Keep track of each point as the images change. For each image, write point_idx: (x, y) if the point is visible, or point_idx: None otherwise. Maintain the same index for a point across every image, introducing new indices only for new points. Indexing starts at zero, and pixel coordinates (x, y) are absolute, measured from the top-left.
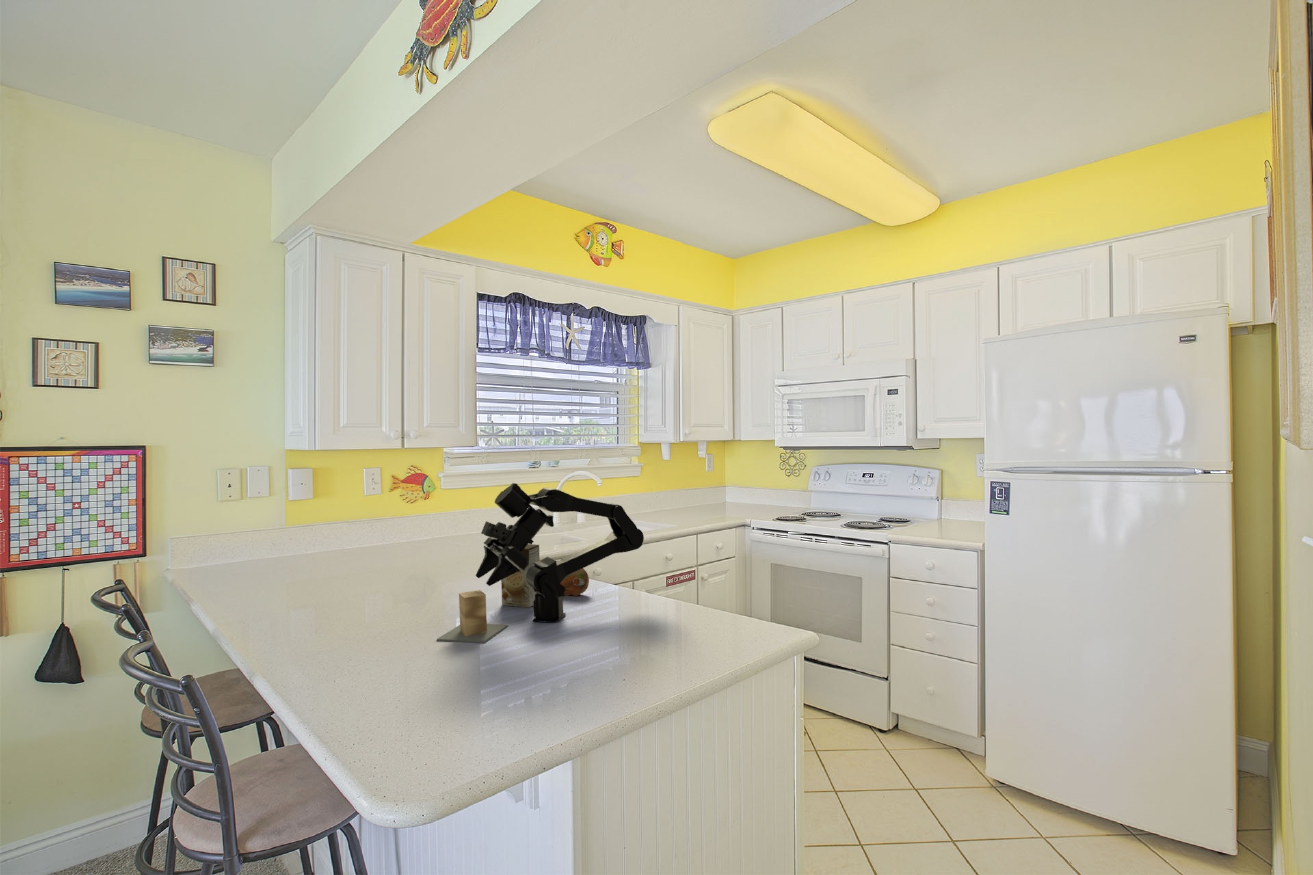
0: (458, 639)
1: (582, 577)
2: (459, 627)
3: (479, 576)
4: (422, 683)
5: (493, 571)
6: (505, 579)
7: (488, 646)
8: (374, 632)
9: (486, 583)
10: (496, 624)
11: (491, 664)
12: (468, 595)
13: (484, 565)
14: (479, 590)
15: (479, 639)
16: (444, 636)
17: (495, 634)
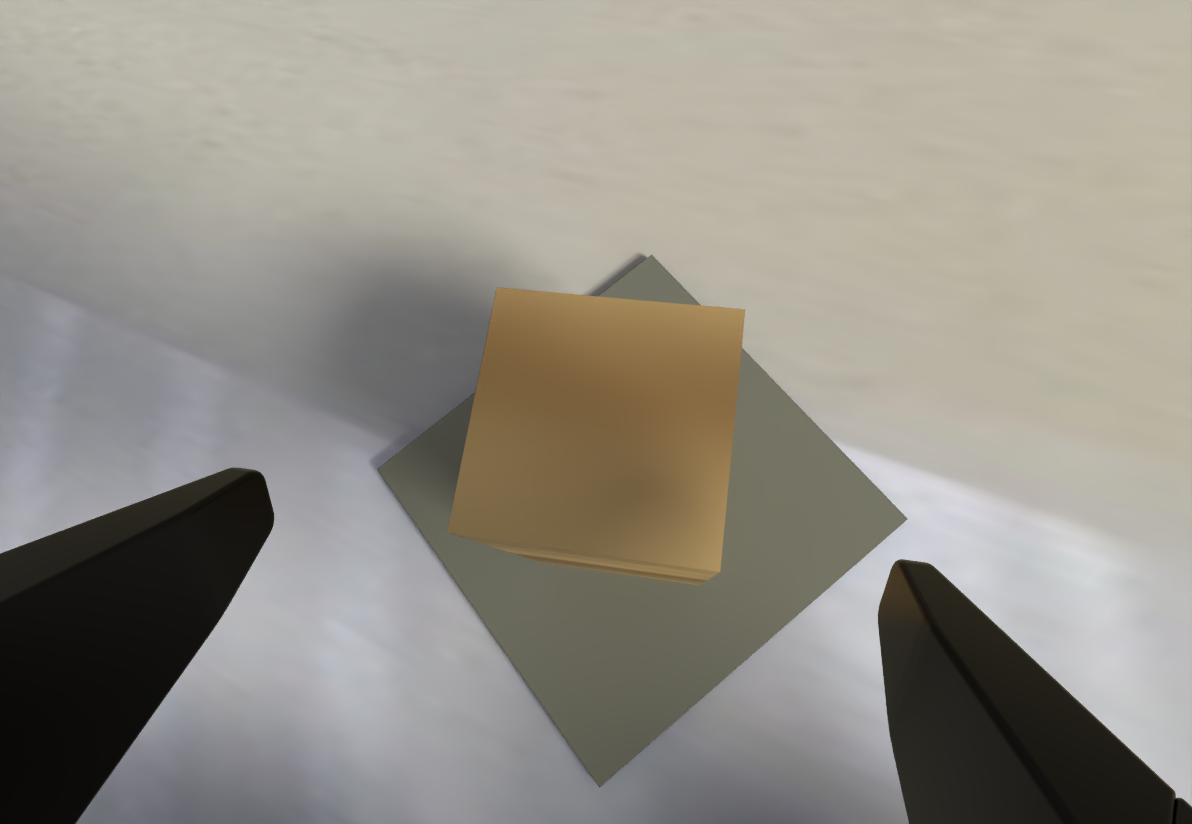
0: None
1: None
2: (798, 450)
3: (886, 626)
4: (134, 62)
5: (29, 579)
6: None
7: (310, 464)
8: (1101, 18)
9: (241, 468)
10: (669, 710)
11: (60, 363)
12: (559, 358)
13: (993, 805)
14: (694, 554)
15: (436, 457)
16: None
17: (467, 596)
